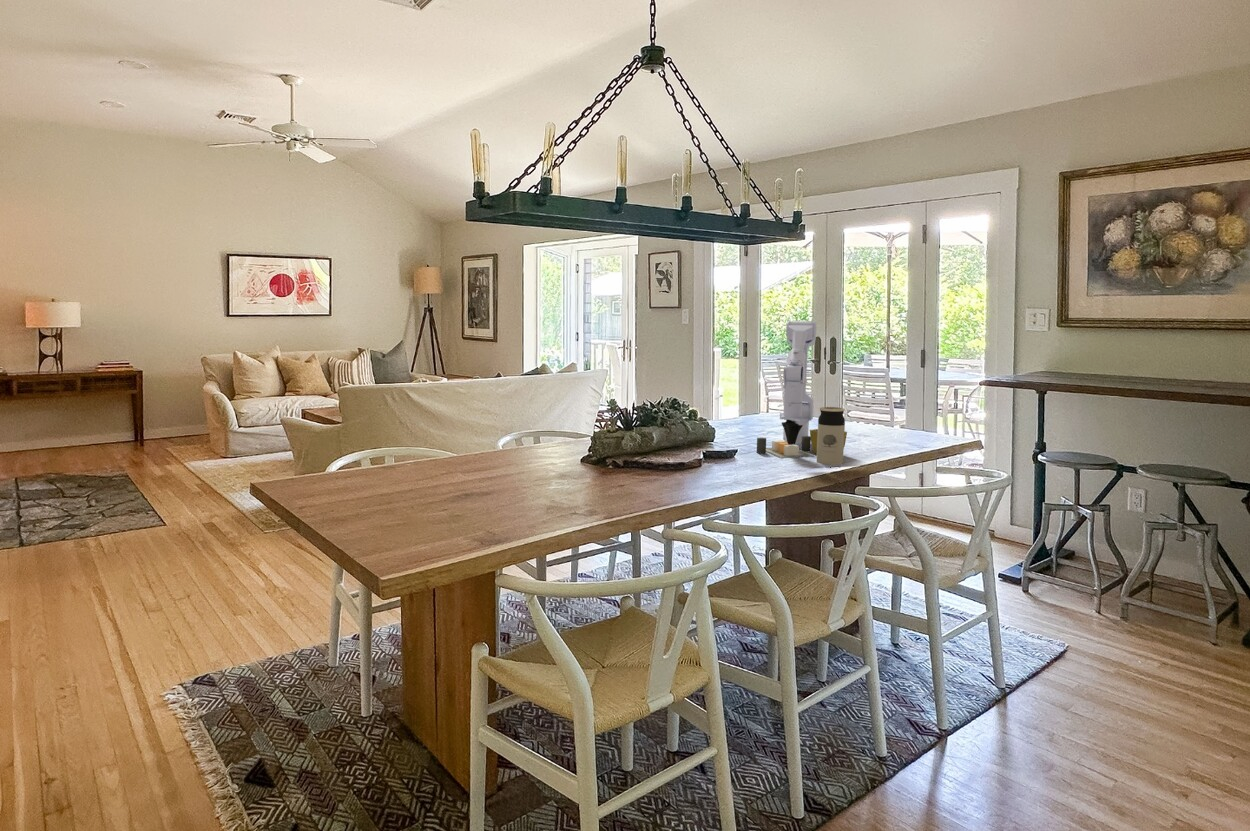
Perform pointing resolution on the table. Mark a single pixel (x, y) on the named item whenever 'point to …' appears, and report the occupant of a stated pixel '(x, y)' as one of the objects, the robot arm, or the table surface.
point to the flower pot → (815, 435)
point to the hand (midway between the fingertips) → (791, 444)
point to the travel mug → (830, 436)
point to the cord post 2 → (805, 443)
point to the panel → (781, 455)
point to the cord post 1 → (761, 445)
